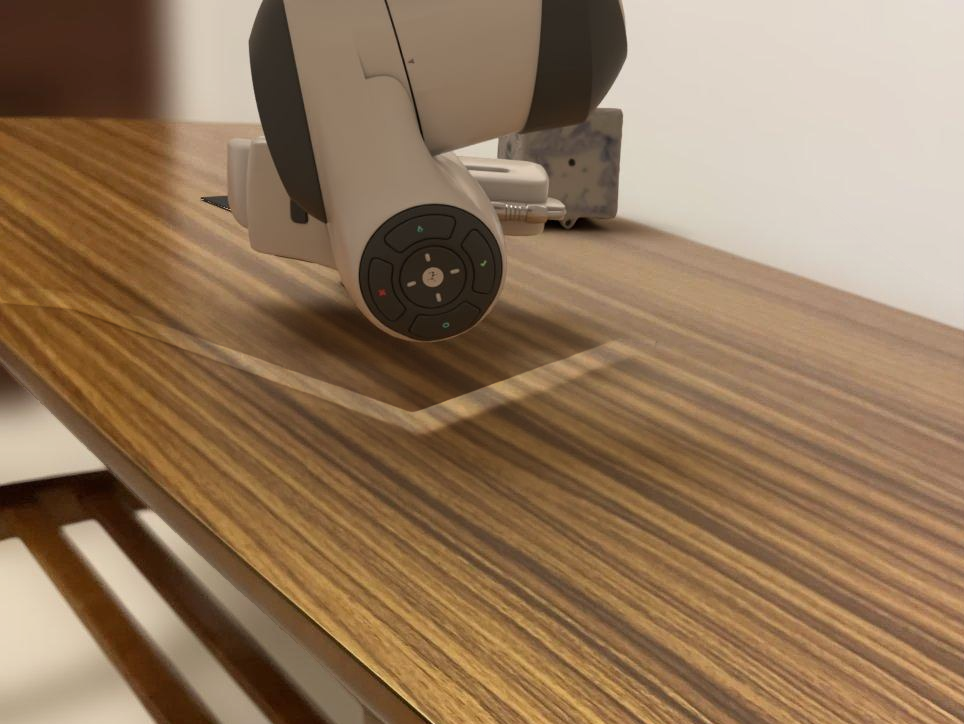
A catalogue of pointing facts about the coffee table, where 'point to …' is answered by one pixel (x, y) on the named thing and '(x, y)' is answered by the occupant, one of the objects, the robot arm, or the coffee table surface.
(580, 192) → the incense holder
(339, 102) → the robot arm
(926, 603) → the coffee table surface
